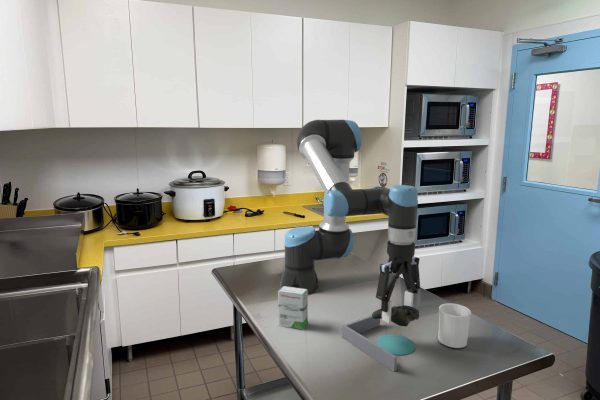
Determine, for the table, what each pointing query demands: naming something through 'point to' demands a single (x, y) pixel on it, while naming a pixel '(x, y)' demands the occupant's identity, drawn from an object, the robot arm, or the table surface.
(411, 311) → the stone
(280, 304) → the ink box
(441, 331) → the mug
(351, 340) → the grey angle bracket
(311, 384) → the table surface
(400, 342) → the teal mat
